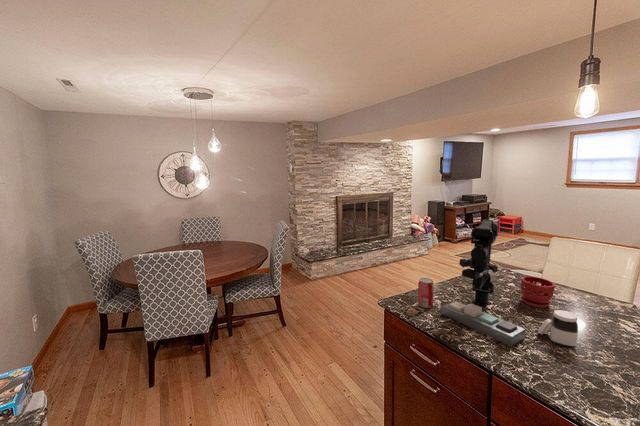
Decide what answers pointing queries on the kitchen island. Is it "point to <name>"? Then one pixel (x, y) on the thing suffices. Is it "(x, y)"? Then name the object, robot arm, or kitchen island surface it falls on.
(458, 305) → the key ivory
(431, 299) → the soda can
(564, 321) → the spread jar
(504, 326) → the key black
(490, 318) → the key teal
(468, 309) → the key grey
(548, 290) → the plant pot
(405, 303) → the kitchen island surface
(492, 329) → the key panel
